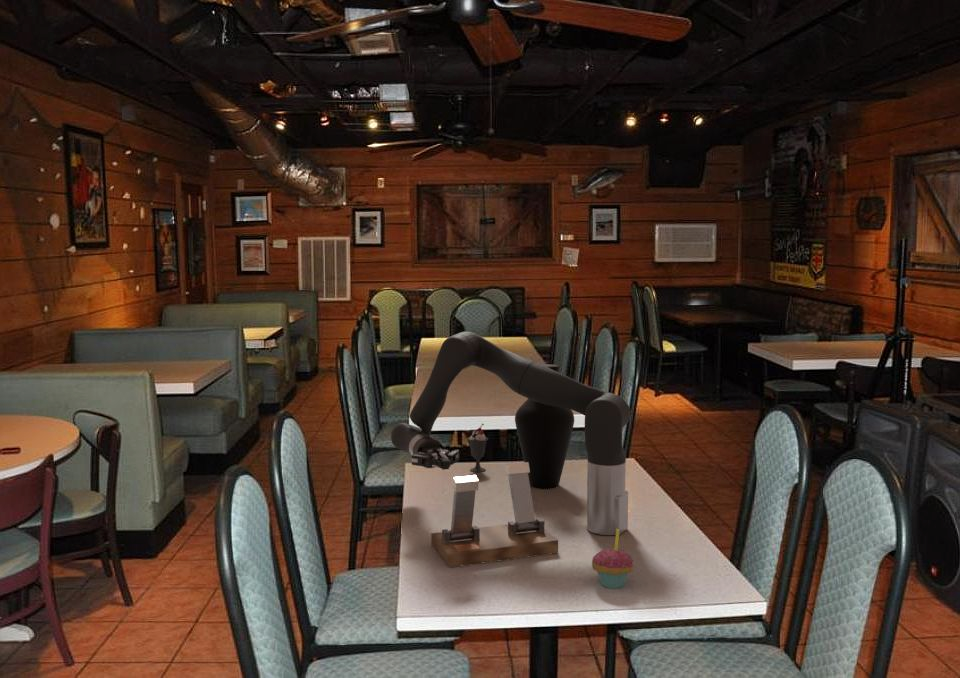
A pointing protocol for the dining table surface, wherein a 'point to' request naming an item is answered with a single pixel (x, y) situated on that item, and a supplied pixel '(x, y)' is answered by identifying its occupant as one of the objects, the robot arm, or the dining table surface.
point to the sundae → (477, 447)
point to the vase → (544, 439)
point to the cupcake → (612, 565)
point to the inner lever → (521, 496)
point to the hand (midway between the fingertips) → (445, 465)
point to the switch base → (494, 544)
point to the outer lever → (463, 507)
